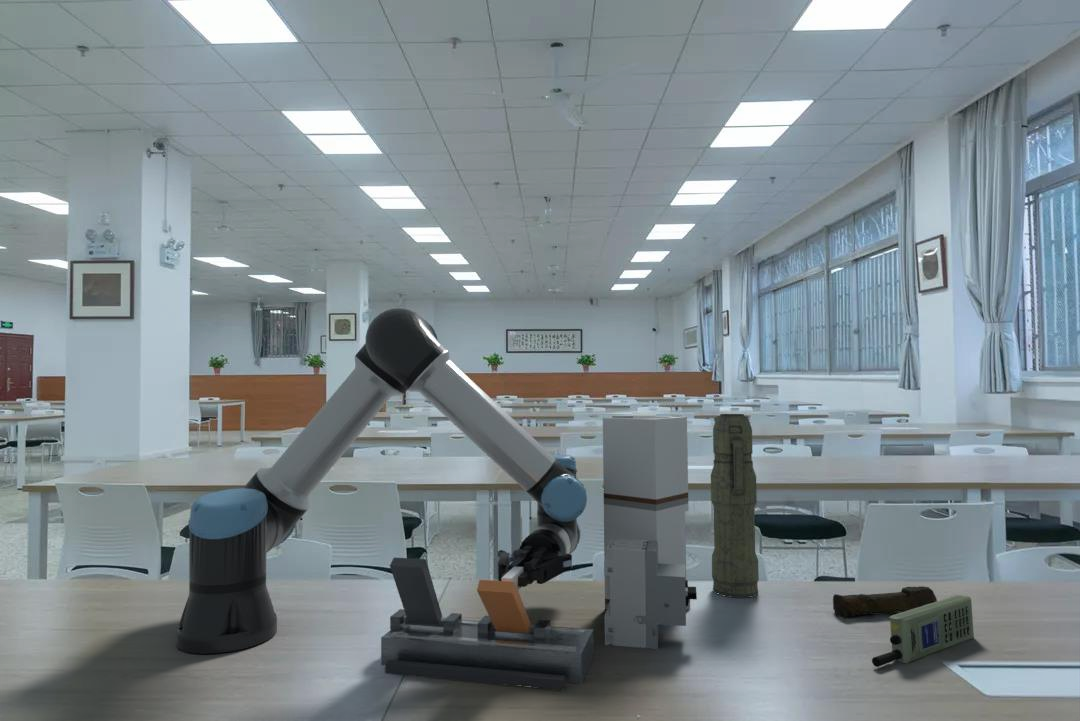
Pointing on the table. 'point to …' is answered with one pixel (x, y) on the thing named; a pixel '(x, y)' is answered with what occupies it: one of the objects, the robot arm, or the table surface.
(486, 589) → the lever
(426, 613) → the lever on
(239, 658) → the table surface
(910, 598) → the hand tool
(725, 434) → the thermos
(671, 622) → the circuit breaker
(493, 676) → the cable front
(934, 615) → the handheld radio
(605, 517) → the white banded pillar
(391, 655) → the grey slotted holder
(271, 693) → the table surface
